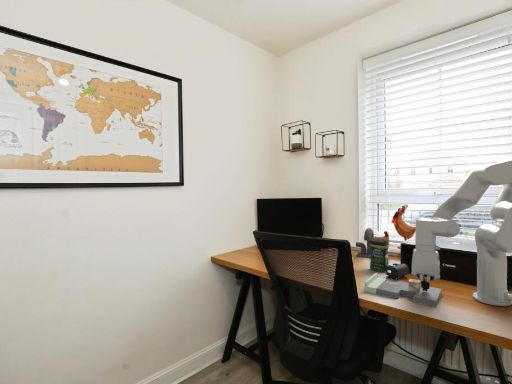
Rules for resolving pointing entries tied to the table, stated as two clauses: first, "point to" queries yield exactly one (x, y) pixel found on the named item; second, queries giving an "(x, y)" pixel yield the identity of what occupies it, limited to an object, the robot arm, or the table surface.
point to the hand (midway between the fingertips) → (425, 289)
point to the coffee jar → (379, 254)
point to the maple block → (414, 285)
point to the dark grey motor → (397, 271)
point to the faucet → (367, 237)
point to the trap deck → (402, 291)
